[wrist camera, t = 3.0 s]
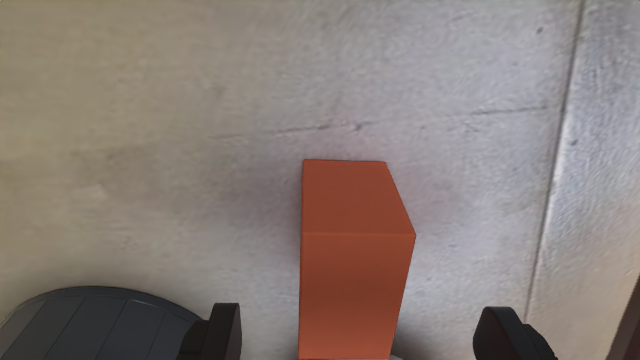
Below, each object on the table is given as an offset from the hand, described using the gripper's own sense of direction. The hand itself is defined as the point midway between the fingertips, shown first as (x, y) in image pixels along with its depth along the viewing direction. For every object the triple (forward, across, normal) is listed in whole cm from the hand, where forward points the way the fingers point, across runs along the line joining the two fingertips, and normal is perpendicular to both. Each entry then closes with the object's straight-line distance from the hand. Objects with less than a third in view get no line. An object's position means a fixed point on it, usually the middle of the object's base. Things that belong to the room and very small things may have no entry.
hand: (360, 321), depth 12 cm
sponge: (+6, 0, 0) cm, 6 cm away
